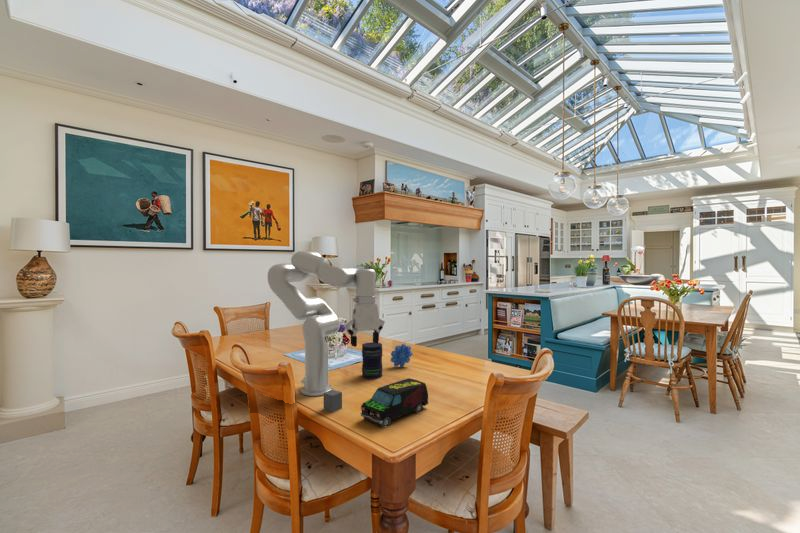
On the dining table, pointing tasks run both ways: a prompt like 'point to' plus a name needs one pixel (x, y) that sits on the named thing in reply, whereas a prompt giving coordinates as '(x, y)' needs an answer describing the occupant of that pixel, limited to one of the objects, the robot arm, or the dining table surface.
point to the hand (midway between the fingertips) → (364, 344)
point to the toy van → (395, 401)
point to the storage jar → (372, 360)
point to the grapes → (401, 355)
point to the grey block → (332, 400)
